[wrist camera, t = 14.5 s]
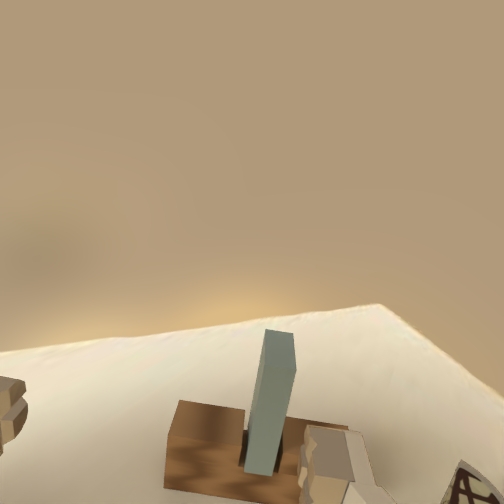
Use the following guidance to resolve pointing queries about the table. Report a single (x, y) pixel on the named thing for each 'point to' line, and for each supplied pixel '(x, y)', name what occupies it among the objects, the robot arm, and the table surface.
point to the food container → (470, 488)
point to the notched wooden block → (230, 455)
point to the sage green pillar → (270, 402)
